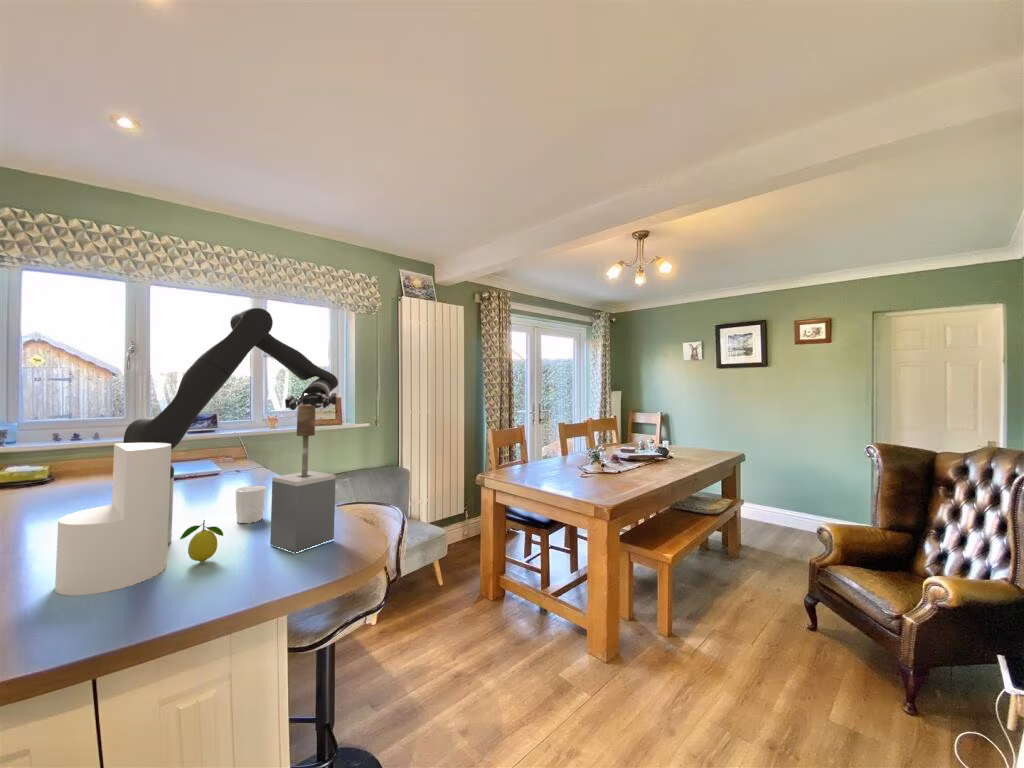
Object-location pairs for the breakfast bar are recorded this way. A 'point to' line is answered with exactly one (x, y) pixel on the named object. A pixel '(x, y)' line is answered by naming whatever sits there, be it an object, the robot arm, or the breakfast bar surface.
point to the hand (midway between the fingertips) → (308, 405)
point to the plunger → (305, 431)
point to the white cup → (250, 504)
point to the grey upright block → (302, 510)
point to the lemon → (202, 542)
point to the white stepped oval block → (119, 527)
